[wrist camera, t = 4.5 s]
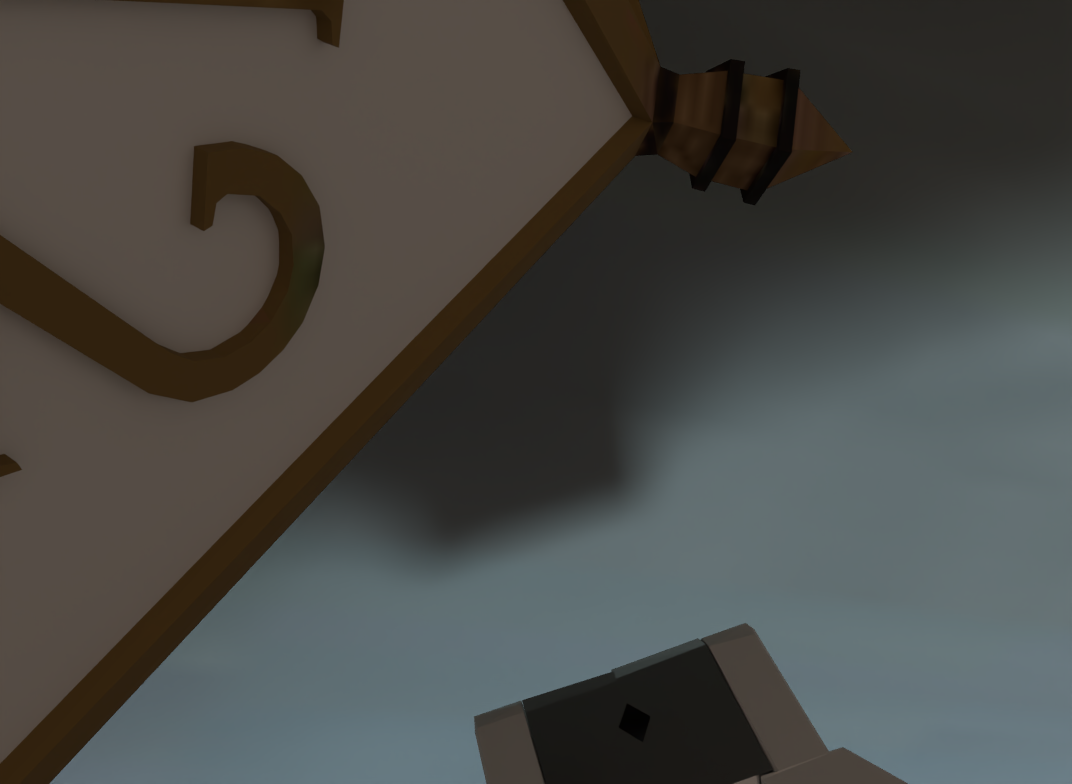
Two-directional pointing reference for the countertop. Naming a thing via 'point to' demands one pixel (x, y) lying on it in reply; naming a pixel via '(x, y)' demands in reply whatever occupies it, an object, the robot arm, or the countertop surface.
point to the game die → (276, 274)
